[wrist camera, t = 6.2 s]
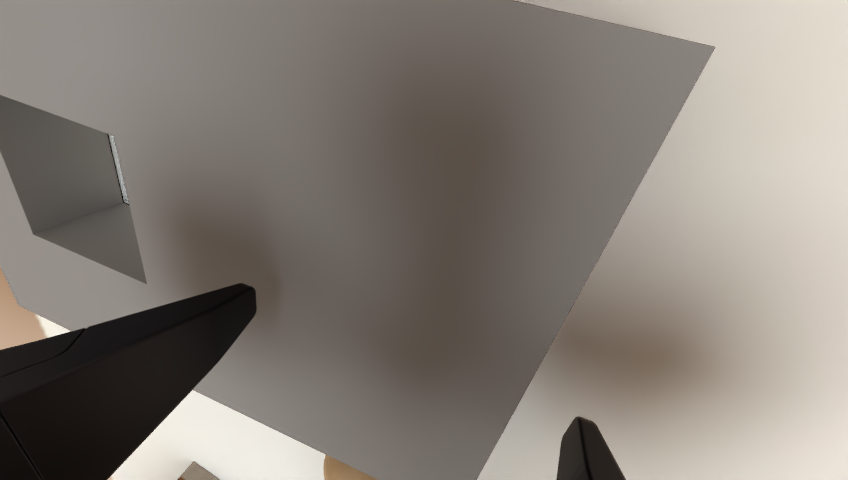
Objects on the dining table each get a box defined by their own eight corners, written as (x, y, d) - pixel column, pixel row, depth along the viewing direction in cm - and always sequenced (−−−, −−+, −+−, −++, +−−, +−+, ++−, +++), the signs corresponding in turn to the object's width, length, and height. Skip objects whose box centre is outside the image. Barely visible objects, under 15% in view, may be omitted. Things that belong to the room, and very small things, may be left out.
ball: (334, 431, 20) (339, 403, 18) (396, 445, 20) (409, 420, 18) (311, 508, 17) (314, 487, 15) (383, 523, 18) (397, 505, 15)
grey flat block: (473, 434, 17) (455, 517, 14) (96, 268, 20) (18, 305, 18) (662, 47, 9) (716, 46, 6) (-21, -114, 12) (-205, -165, 9)
